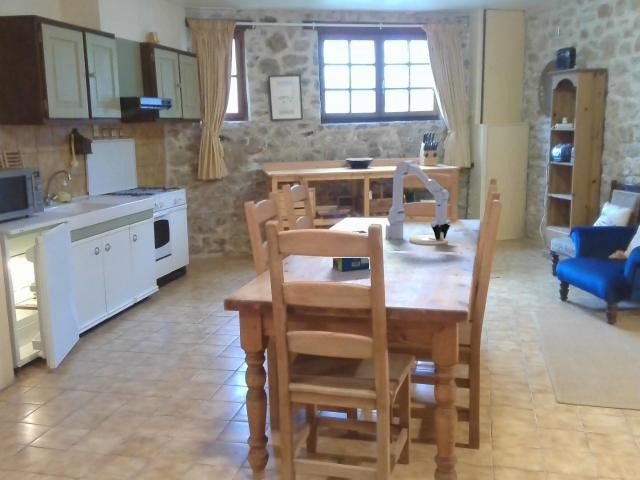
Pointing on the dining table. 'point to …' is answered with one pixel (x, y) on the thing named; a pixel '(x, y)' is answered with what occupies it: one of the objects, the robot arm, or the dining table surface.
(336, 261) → the protein box
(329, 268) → the dining table surface
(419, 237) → the dial
